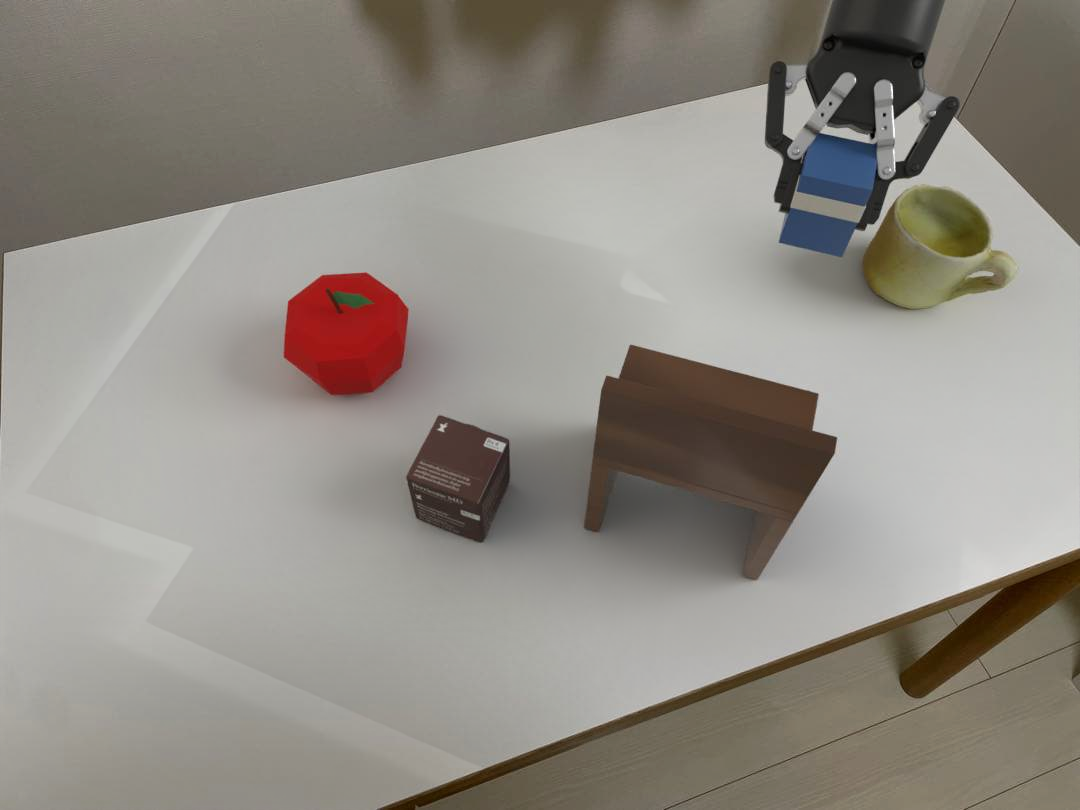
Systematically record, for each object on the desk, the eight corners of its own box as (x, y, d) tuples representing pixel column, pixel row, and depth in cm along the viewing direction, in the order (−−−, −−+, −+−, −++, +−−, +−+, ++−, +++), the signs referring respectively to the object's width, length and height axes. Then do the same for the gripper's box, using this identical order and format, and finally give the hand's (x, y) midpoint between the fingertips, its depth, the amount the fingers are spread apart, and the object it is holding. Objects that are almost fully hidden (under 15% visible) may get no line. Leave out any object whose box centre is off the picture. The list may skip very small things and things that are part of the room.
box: (414, 519, 68) (402, 476, 62) (445, 458, 71) (437, 412, 65) (483, 545, 67) (478, 504, 61) (512, 482, 70) (510, 437, 64)
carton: (787, 199, 69) (811, 130, 63) (850, 213, 68) (880, 144, 63) (777, 243, 67) (801, 175, 61) (842, 258, 66) (873, 190, 60)
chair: (616, 427, 73) (641, 271, 56) (778, 472, 71) (855, 323, 54) (583, 528, 68) (600, 390, 51) (757, 581, 65) (835, 453, 49)
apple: (275, 394, 74) (243, 323, 66) (328, 305, 80) (304, 229, 71) (387, 426, 73) (368, 357, 64) (432, 332, 78) (421, 258, 70)
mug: (825, 262, 81) (896, 185, 73) (874, 236, 87) (946, 163, 79) (916, 357, 78) (1001, 287, 70) (961, 324, 84) (1043, 256, 76)
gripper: (796, -51, 58) (728, 197, 62) (1013, -12, 56) (928, 243, 60) (788, -19, 65) (728, 202, 69) (981, 17, 63) (907, 243, 67)
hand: (821, 220), depth 64 cm, fingers closed on carton, 5 cm apart
